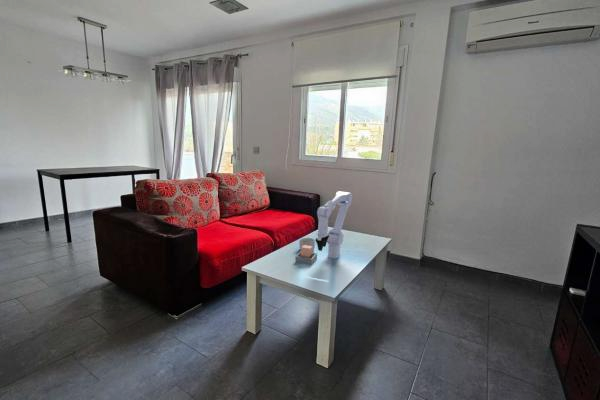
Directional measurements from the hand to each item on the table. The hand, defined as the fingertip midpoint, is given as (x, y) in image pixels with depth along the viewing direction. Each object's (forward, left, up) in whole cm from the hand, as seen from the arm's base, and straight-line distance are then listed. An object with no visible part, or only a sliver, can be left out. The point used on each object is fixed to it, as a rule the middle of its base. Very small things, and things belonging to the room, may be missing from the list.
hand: (321, 248), depth 170 cm
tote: (0, -10, -10) cm, 14 cm away
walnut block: (0, -10, -10) cm, 14 cm away
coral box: (0, -10, -6) cm, 11 cm away
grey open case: (-19, -16, -11) cm, 27 cm away
